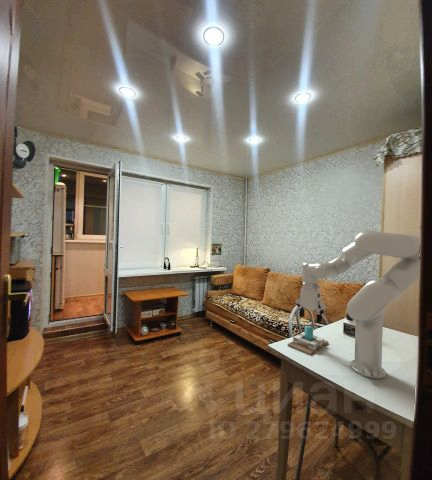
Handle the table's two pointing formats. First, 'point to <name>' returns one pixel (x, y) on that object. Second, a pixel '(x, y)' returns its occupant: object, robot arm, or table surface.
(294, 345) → the socket board
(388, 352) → the table surface
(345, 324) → the medicine bottle
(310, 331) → the peg
